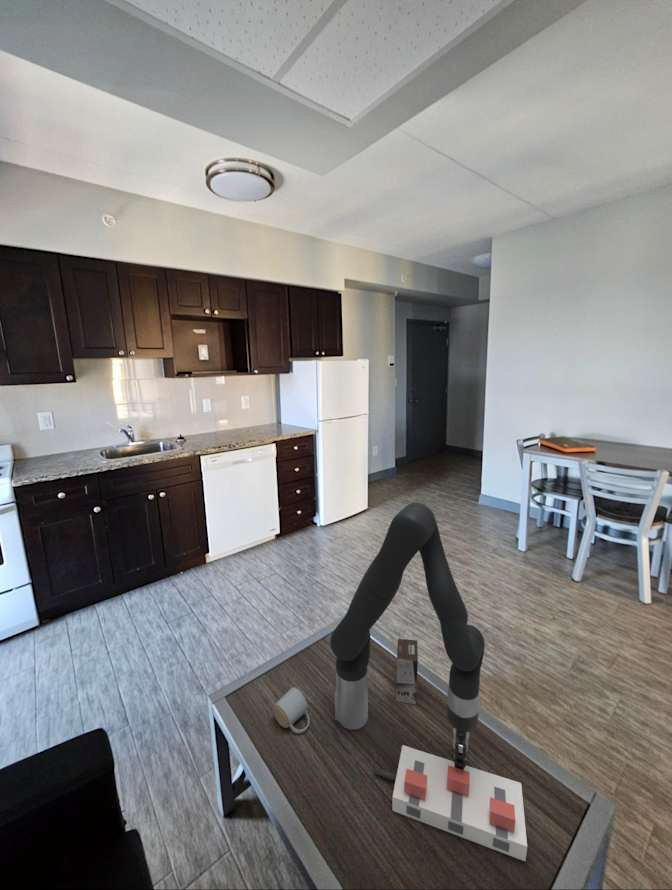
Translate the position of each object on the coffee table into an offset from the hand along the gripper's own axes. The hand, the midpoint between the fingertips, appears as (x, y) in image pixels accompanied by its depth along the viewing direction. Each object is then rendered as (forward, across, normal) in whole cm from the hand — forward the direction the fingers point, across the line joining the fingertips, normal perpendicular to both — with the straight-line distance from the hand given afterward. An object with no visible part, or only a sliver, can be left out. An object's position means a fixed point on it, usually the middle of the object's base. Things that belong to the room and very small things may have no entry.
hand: (459, 753), depth 99 cm
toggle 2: (+1, +7, 0) cm, 8 cm away
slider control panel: (+6, +8, -3) cm, 10 cm away
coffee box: (+6, -20, -17) cm, 27 cm away
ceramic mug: (+6, 0, -47) cm, 48 cm away
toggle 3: (+1, +12, +9) cm, 15 cm away
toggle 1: (+1, +11, -10) cm, 15 cm away
